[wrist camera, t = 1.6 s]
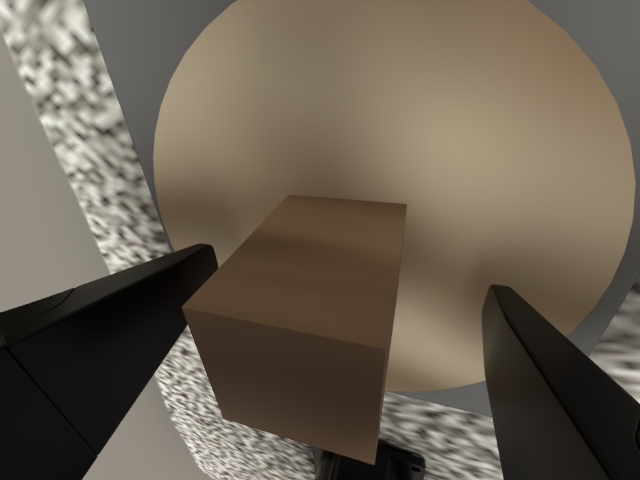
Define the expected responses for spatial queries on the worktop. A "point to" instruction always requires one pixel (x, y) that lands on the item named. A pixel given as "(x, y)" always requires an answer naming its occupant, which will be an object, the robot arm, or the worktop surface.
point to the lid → (382, 198)
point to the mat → (208, 3)
